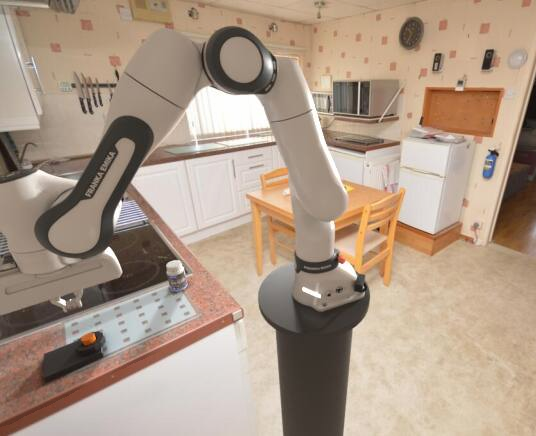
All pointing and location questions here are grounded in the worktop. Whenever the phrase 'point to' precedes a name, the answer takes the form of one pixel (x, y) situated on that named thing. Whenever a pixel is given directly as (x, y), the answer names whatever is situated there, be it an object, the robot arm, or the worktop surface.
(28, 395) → the worktop surface
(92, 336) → the tare button
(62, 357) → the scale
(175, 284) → the pill bottle
